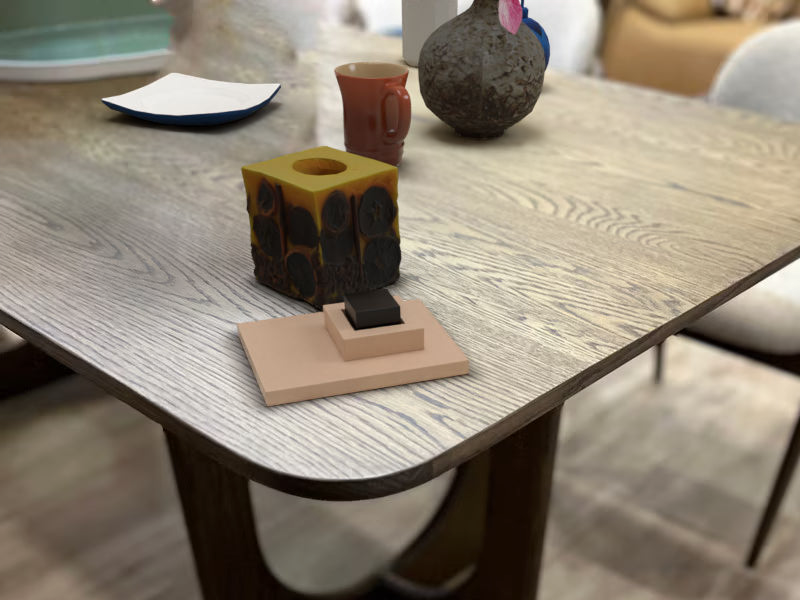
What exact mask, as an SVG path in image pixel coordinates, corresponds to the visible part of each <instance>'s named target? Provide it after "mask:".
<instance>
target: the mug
mask: <svg viewBox="0 0 800 600" xmlns="http://www.w3.org/2000/svg"><path fill="white" fill-rule="evenodd" d="M333 72H334V77H335V78H336V82H337V85H338V89H339V91H340V96H341V102H342V115H343V116H342V118H343V119H342V123H343V124H342V126H343V127H342V128H343V146H344V149H345V150H344V151H345V152H348V153H352V154H355V155H359V156H362V157H366V158H370V159H374V160H377V161H380V162H383V163H386V164H389V165H392V166H395V167H397V168H398V166H399V165H400V164H401V163H402V161H403V157H404V153H405V145H406V143H405V140H406V138H407V137H408V135H409V132H410V128H411V123H412V99H411V95H410V93H409V90H408V89H406V85H407V81H408V78H409V74H410V71H409V69H408V68H407V67H405V66H403V65H400V64H396V63H392V62H383V61H382V62H381V61H360V62H351V63H344V64H341V65H338V66H336V67H335V68H334V70H333Z"/></svg>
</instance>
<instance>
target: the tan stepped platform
mask: <svg viewBox="0 0 800 600" xmlns="http://www.w3.org/2000/svg"><path fill="white" fill-rule="evenodd" d="M392 296H393V298H394V299H395V300H396V302H397V303H398V304H399V305H400V312H401V324H399V325H392V326H385V327H378V328H371V329H364V330H357V331H355V329H354V328H353V326H352V325H351V323H350V321H349V320H348V318H347V317H346V315H345V305H344V303H336V304H329V305H323V310H322V311H318V312H312V313H305V314H297V315H290V316H282V317H275V318H267V319H259V320H252V321H245V322H237V323H236V329H237V335H238V338H239V341H240V343H241V346H242V348H243V351H244V353H245V356H246V359H247V360H248V363H249V365H250V368H251V370H252V372H253V375H254V377H255V380H256V382H257V385H258V387H259V390H260V392H261V394H262V397H263V400H264V402H265V405H266V407H272V406H273V407H274V406H277V405H278V406H279V405H285V404H290V403H296V402H304V401H308V400H309V401H310V400H315V399H321V398H327V397H334V396H341V395H345V394H346V395H347V394H352V393H359V392H364V391H371V390H376V389H377V390H378V389H383V388H390V387H395V386H401V385H406V384H407V385H408V384H413V383H419V382H426V381H432V380H437V379H438V380H439V379H445V378H451V377H456V376H462V375H468V374H469V371H470V359H469V358H468V357H467V356H466V354H465V353H464V352H463V350H462V349H461V348H460V347H459V346H458V344H457V343H456V342H455V340H453V337H452V336H450V335H449V333H448V332H447V331H446V330H445V328H444V327H443V326H442V324H441V323H440V322H439V321H438V319H436V317H435V316H434V315H433V314H432V312H431V311H430V309H429V308H428V307H427V305H425V304H424V302H423V301H422V300H421V298H414V299H407V300H403V298H402V296H400V295H399V294H397V295H392Z"/></svg>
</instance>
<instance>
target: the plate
mask: <svg viewBox="0 0 800 600" xmlns="http://www.w3.org/2000/svg"><path fill="white" fill-rule="evenodd" d="M281 88H282V84H281V83H240V82H229V81H223V80H214V79H208V78H202V77H198V76H192V75H188V74H183V73H179V72H170V73H169V74H167V75H165V76H163V77H160V78H159V79H157V80H155V81H153V82H151V83H149V84H147V85H144V86H142V87H140V88H136V89H134V90H132V91H129V92H126V93H123V94H119V95H113V96H110V97H109V96H108V97H103V98H101V102H102V104H103V105H105V106H106V107H107V108H109V110H112V111H116V112H120V113H123V114H125V115H129V116H132V117H135V118H139V119H142V120H145V121H148V122H153V123H158V124H159V123H160V124H165V125H176V126H217V125H221V124H225V123H230V122H235V121H238V120H241V119H244V118H246V117H249V116H250V115H251V114H253V113H254V112H256V111H258V110H259V109H262V108H263V107H265V106H267V105H269V104H270V102H272V100H273V99H274V98H275V96H276V95H277V94H278V93H279V91H280V90H281Z"/></svg>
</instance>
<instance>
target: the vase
mask: <svg viewBox="0 0 800 600" xmlns="http://www.w3.org/2000/svg"><path fill="white" fill-rule="evenodd" d="M522 15H523V14H522V7H521V1H520V0H473V1H472V3H471V4H470V6H469V7H468V8H467V9H465V10H464V11H463V12H461V13H459V14H457V16H456V17H454V18H453V19H451V20H449V21H448V22H446V23H444V24H443V25H441V26H440V27H439V28H438V29H436V30H435V31H434V32H433V33H432V34H431V35H430V36H429V37H428V39H427V40H426V41H425V43H424V45H423V47H422V49H421V51H420V55H419V61H418V67H417V73H418V74H417V75H418V76H417V77H418V85H419V86H418V87H419V93H420V95H421V98H422V100H423V102H424V105H425V107H426V109H428V110H429V111H430V112H431V113H432V114H433V115H434V116H436V117H437V118H438V119H439V120H440V121H441V122H442V123H444V124H445V125H447V126H449V127H451V128H453V130H454V134H455V135H457V136H459V137H462V138H465V139H471V140H491V139H498V138H500V137H502V136H504V133H505V131H506V130H508V129H510V128H511V127H513V126H515V125H516V124H518V123H520V122H521V121H522V120H524V119H525V118H526V117H528V115H530V114H531V113H532V112H533V110H534V108H535V106H536V104H537V102H538V100H539V98H540V95H541V94H542V91H543V85H544V80H545V73H546V71H545V52H544V50H543V47H542V45H541V42H540V41H539V39H538V38H537V37H536V35H535V34H534V33H533V31H532V30H531V29H530V28H529V27H528V26H527V25H526V24H525V23H524V22H522V21H521V20H522Z"/></svg>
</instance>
